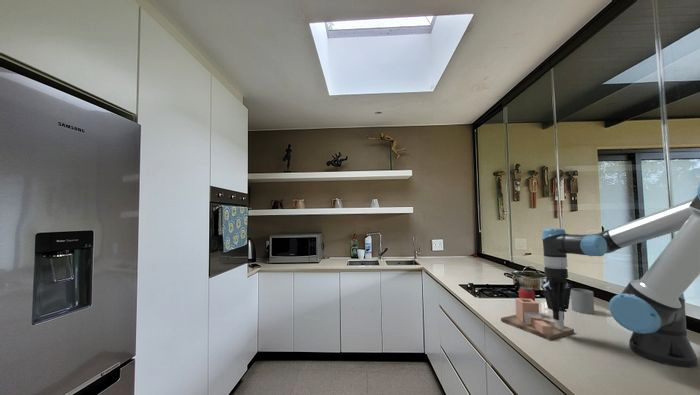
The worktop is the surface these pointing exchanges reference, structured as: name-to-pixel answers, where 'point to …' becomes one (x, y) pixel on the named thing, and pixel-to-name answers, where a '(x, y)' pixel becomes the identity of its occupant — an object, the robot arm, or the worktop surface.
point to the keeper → (531, 314)
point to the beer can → (526, 293)
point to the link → (537, 323)
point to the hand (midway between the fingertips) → (559, 327)
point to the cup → (582, 301)
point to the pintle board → (521, 325)
